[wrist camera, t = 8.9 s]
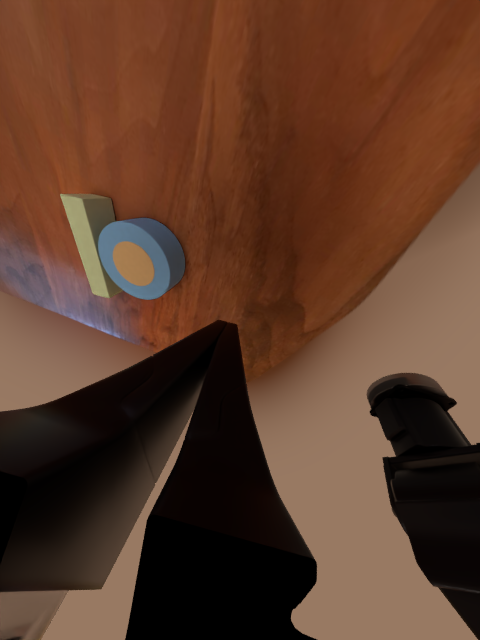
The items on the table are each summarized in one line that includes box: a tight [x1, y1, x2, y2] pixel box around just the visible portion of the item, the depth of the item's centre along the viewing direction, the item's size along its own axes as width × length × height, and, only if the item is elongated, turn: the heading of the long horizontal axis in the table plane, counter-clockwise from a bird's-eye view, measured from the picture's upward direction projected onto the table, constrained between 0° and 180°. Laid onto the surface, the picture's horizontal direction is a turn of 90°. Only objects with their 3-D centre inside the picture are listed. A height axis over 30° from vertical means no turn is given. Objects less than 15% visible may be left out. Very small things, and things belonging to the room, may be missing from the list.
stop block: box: [60, 194, 123, 298], centre depth 19 cm, size 2×9×3 cm, turn 171°
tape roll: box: [98, 218, 185, 300], centre depth 18 cm, size 7×7×3 cm
